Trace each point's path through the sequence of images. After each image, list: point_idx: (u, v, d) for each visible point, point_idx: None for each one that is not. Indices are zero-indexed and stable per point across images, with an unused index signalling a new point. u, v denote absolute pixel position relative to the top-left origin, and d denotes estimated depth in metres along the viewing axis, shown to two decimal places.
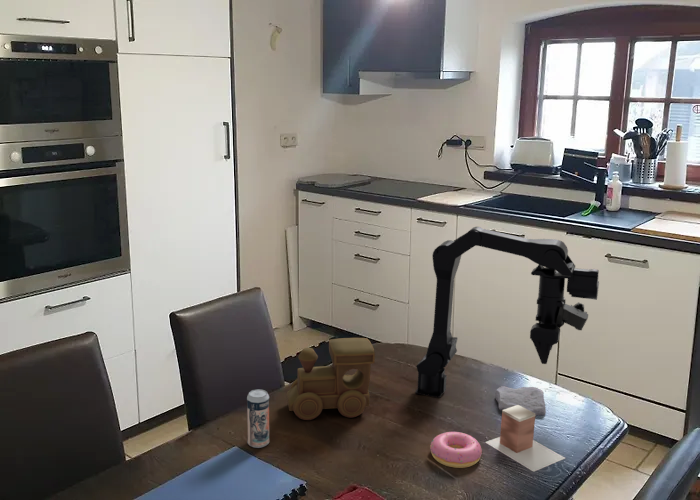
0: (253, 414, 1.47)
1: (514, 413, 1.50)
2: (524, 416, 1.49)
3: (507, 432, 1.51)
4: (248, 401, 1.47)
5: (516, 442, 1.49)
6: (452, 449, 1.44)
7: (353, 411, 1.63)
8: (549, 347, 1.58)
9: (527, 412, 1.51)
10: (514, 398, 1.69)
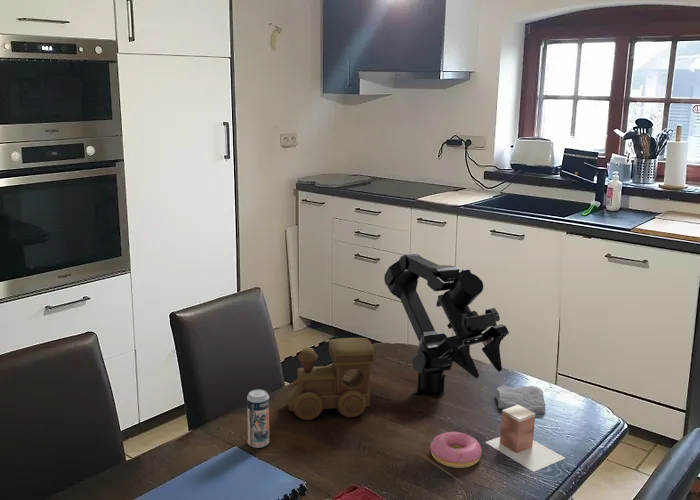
0: (253, 414, 1.47)
1: (514, 413, 1.50)
2: (524, 416, 1.49)
3: (507, 432, 1.51)
4: (248, 401, 1.47)
5: (516, 442, 1.49)
6: (452, 449, 1.44)
7: (353, 411, 1.63)
8: (465, 358, 1.56)
9: (527, 412, 1.51)
10: (514, 397, 1.70)
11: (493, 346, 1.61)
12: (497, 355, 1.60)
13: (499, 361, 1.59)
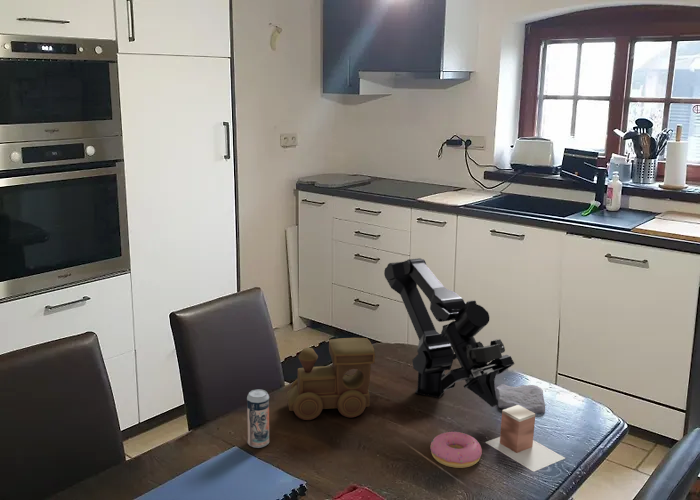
0: (253, 414, 1.47)
1: (514, 413, 1.50)
2: (524, 416, 1.49)
3: (507, 432, 1.51)
4: (248, 401, 1.47)
5: (516, 442, 1.49)
6: (452, 449, 1.44)
7: (353, 411, 1.63)
8: (482, 387, 1.57)
9: (527, 412, 1.51)
10: (514, 396, 1.70)
11: (488, 380, 1.58)
12: (492, 389, 1.58)
13: (494, 396, 1.57)
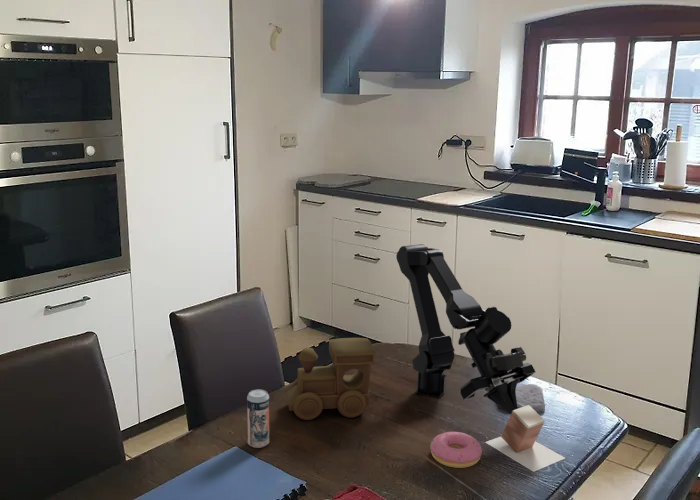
0: (253, 414, 1.47)
1: (524, 417, 1.48)
2: (533, 423, 1.47)
3: (512, 431, 1.49)
4: (248, 401, 1.47)
5: (519, 444, 1.48)
6: (452, 449, 1.44)
7: (353, 411, 1.63)
8: (502, 396, 1.52)
9: (537, 417, 1.48)
10: None
11: (509, 390, 1.53)
12: (513, 399, 1.53)
13: (515, 406, 1.52)
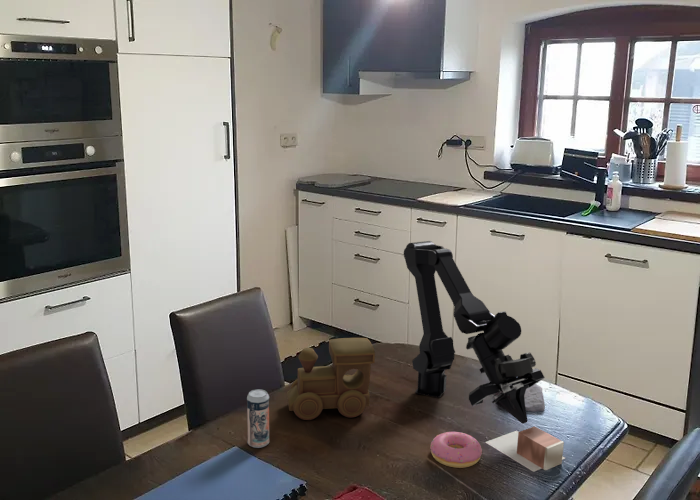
0: (253, 414, 1.47)
1: (550, 458, 1.43)
2: (552, 466, 1.44)
3: (530, 448, 1.46)
4: (248, 401, 1.47)
5: (525, 457, 1.47)
6: (452, 449, 1.44)
7: (353, 411, 1.63)
8: (511, 402, 1.50)
9: (558, 459, 1.45)
10: None
11: (518, 396, 1.51)
12: (522, 405, 1.51)
13: (524, 412, 1.50)
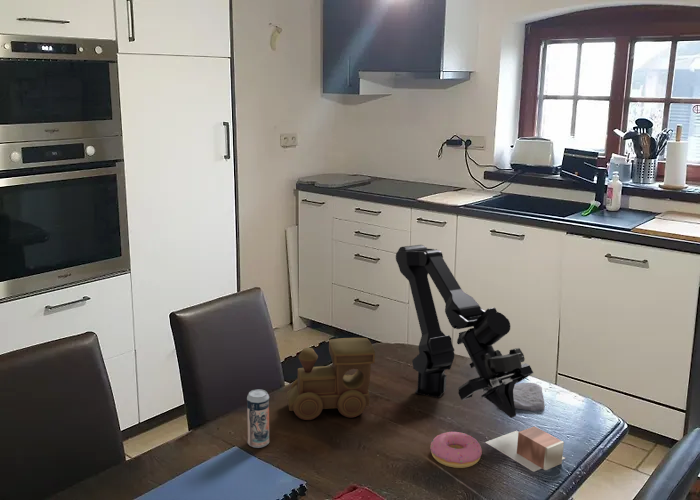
0: (253, 414, 1.47)
1: (550, 458, 1.43)
2: (552, 466, 1.44)
3: (530, 448, 1.46)
4: (248, 401, 1.47)
5: (525, 457, 1.47)
6: (452, 449, 1.44)
7: (353, 411, 1.63)
8: (500, 397, 1.52)
9: (558, 459, 1.45)
10: (514, 393, 1.72)
11: (506, 390, 1.54)
12: (511, 400, 1.53)
13: (513, 406, 1.53)
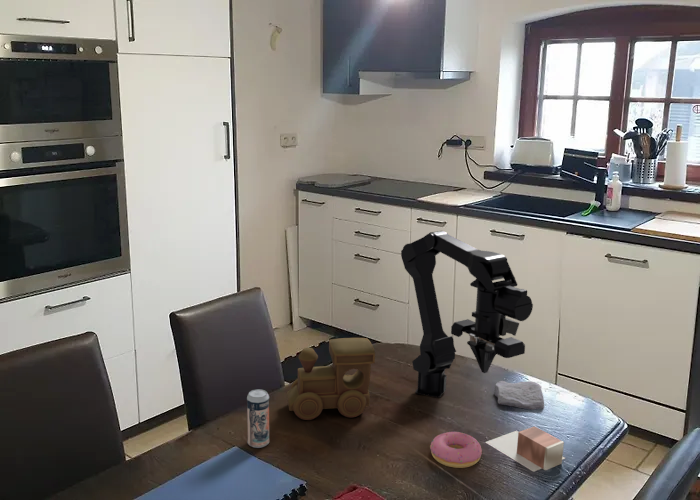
0: (253, 414, 1.47)
1: (550, 458, 1.43)
2: (552, 466, 1.44)
3: (530, 448, 1.46)
4: (248, 401, 1.47)
5: (525, 457, 1.47)
6: (452, 449, 1.44)
7: (353, 411, 1.63)
8: (494, 355, 1.60)
9: (558, 459, 1.45)
10: (513, 392, 1.72)
11: None
12: None
13: None
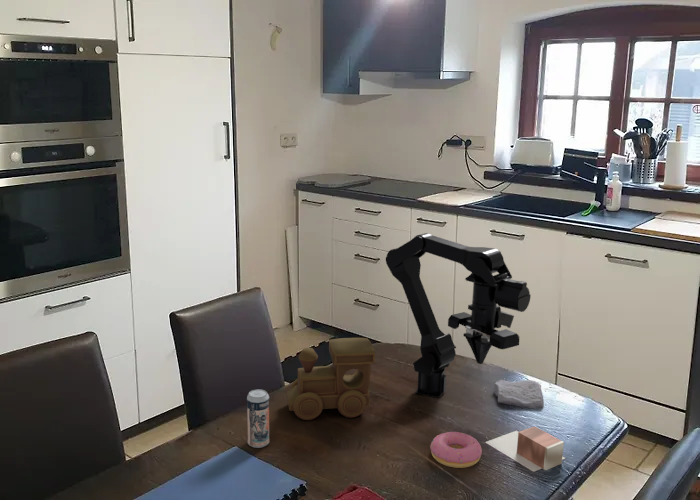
0: (253, 414, 1.47)
1: (550, 458, 1.43)
2: (552, 466, 1.44)
3: (530, 448, 1.46)
4: (248, 401, 1.47)
5: (525, 457, 1.47)
6: (452, 449, 1.44)
7: (353, 411, 1.63)
8: (489, 346, 1.65)
9: (558, 459, 1.45)
10: (513, 391, 1.73)
11: None
12: None
13: None
